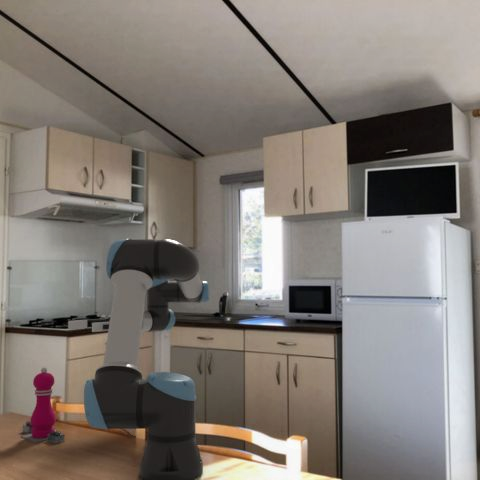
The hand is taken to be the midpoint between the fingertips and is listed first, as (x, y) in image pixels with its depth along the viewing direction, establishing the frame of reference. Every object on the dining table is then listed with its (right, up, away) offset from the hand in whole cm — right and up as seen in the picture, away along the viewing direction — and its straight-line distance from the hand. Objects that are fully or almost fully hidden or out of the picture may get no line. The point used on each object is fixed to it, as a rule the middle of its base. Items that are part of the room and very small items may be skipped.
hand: (80, 326), depth 174 cm
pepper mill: (-9, -31, -8) cm, 34 cm away
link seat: (-9, -31, -8) cm, 34 cm away
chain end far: (-14, -32, -3) cm, 35 cm away
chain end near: (-3, -31, -13) cm, 34 cm away
